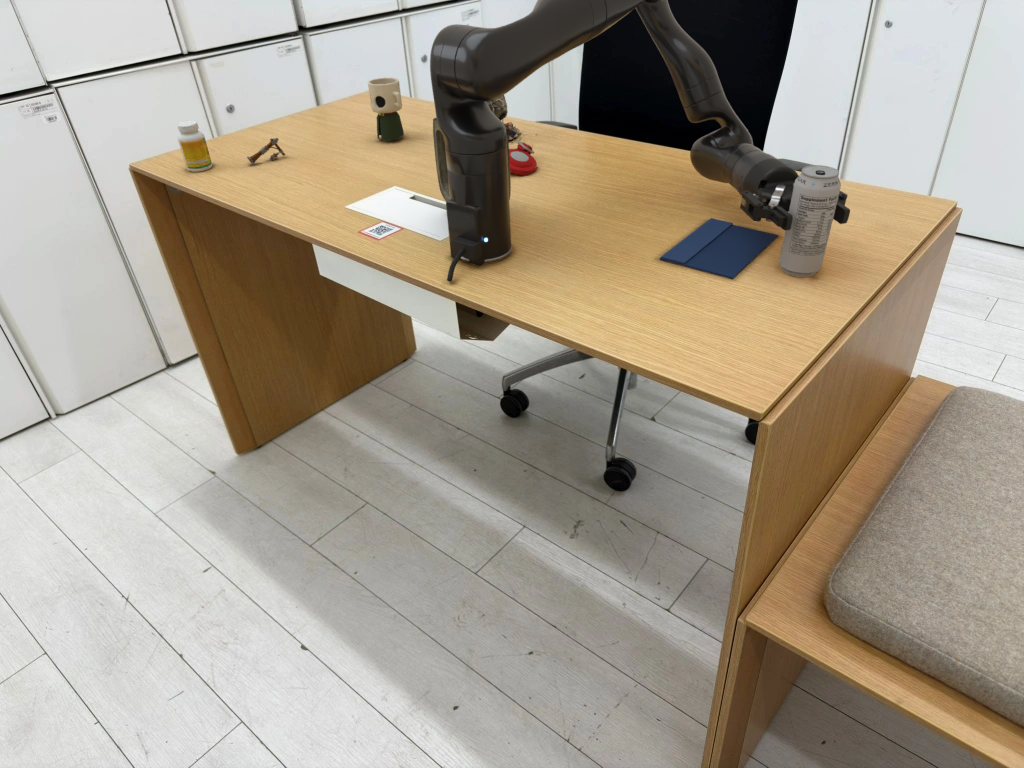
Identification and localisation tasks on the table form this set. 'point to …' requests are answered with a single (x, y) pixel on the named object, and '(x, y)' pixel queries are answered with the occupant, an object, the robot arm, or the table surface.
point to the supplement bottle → (193, 147)
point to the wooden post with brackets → (264, 150)
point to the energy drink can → (810, 220)
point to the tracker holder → (522, 159)
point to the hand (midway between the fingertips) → (818, 220)
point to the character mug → (386, 107)
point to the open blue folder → (719, 248)
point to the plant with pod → (503, 115)
